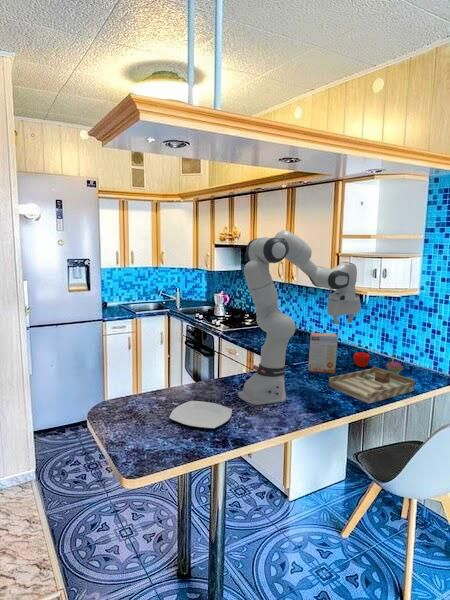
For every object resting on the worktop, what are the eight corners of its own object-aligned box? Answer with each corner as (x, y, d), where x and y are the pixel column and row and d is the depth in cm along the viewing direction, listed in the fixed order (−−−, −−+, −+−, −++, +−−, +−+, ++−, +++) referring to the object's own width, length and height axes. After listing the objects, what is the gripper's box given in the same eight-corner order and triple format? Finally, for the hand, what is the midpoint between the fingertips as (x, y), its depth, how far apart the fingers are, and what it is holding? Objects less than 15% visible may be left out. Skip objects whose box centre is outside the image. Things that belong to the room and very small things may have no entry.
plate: (188, 402, 181) (188, 397, 181) (238, 412, 173) (238, 408, 173) (161, 423, 160) (161, 418, 160) (217, 436, 152) (217, 431, 151)
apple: (351, 367, 240) (352, 353, 239) (354, 363, 248) (355, 350, 247) (367, 370, 236) (369, 356, 235) (370, 366, 244) (371, 352, 243)
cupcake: (385, 375, 227) (387, 354, 226) (385, 371, 235) (387, 350, 234) (402, 378, 225) (405, 356, 223) (401, 373, 233) (403, 352, 231)
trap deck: (368, 403, 188) (369, 392, 187) (328, 386, 207) (329, 375, 207) (413, 391, 206) (415, 380, 205) (372, 376, 226) (373, 366, 225)
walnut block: (383, 383, 207) (384, 373, 207) (374, 380, 212) (375, 370, 211) (389, 382, 210) (390, 372, 209) (380, 379, 214) (382, 369, 213)
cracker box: (333, 370, 233) (336, 333, 229) (335, 374, 227) (338, 336, 223) (307, 368, 234) (310, 331, 231) (308, 372, 228) (311, 334, 225)
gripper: (354, 293, 213) (352, 320, 215) (326, 295, 202) (323, 323, 204) (364, 295, 208) (362, 322, 210) (336, 297, 196) (333, 326, 199)
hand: (343, 323), depth 207 cm, fingers open, 8 cm apart
